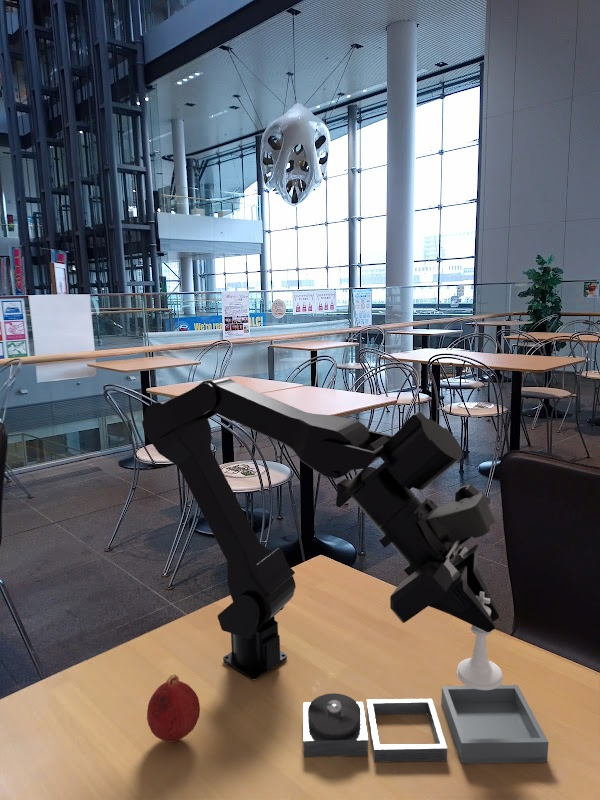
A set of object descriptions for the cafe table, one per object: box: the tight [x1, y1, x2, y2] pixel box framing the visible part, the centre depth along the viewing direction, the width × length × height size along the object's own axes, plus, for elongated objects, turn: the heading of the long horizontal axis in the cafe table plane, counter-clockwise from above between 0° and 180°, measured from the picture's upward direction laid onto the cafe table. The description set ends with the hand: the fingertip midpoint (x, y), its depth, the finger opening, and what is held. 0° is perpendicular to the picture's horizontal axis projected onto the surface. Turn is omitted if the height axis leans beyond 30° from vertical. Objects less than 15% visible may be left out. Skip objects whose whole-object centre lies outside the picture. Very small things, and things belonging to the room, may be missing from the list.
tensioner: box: [303, 693, 448, 763], centre depth 68 cm, size 15×8×4 cm, turn 90°
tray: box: [440, 684, 549, 765], centre depth 68 cm, size 9×9×2 cm
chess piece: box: [456, 591, 504, 690], centre depth 65 cm, size 5×5×10 cm
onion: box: [146, 674, 201, 743], centre depth 67 cm, size 6×6×8 cm
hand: (494, 624), depth 65 cm, fingers closed on chess piece
